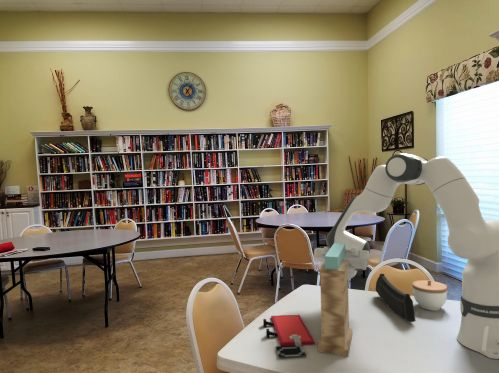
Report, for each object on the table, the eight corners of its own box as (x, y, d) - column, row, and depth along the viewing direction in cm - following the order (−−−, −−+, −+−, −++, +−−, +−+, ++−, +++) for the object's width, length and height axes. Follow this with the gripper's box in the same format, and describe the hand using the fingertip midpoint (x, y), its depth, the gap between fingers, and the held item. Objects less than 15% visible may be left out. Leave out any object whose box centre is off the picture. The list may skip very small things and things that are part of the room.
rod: (345, 254, 122) (345, 243, 122) (338, 270, 102) (337, 257, 102) (334, 253, 124) (334, 242, 124) (324, 269, 103) (324, 256, 103)
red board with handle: (272, 360, 100) (321, 357, 101) (272, 351, 100) (321, 348, 101) (261, 319, 130) (299, 318, 131) (261, 312, 130) (299, 311, 131)
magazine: (418, 303, 118) (385, 259, 146) (409, 303, 118) (378, 259, 146) (412, 341, 123) (381, 292, 152) (404, 342, 123) (374, 292, 152)
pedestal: (352, 334, 115) (350, 259, 114) (348, 356, 101) (346, 271, 100) (326, 330, 118) (324, 258, 117) (318, 351, 104) (316, 269, 104)
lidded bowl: (406, 306, 138) (406, 279, 137) (421, 298, 145) (421, 273, 145) (438, 315, 127) (438, 287, 127) (453, 307, 135) (452, 280, 135)
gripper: (317, 251, 137) (311, 240, 126) (370, 254, 129) (368, 242, 118) (316, 266, 134) (309, 256, 123) (370, 270, 126) (368, 259, 115)
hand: (339, 249), depth 120 cm, fingers open, 8 cm apart
